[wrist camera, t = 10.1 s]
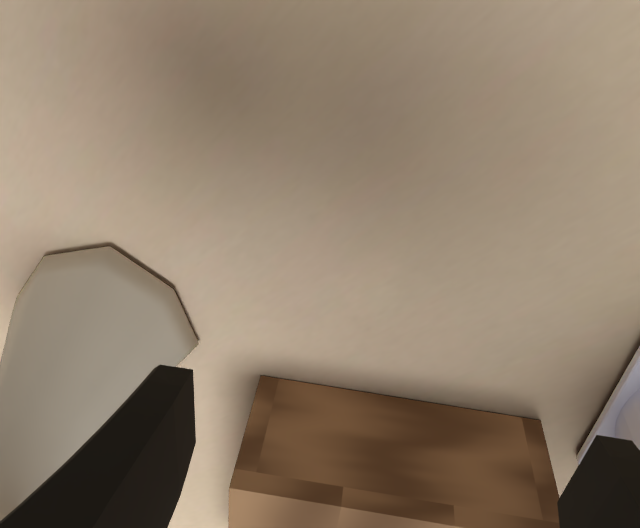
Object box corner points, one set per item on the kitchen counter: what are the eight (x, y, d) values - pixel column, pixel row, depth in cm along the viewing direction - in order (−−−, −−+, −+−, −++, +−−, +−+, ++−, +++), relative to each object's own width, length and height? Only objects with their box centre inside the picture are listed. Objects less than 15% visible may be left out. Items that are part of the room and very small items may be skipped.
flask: (-10, 285, 24) (-224, 503, 16) (113, 213, 21) (-69, 434, 13) (109, 396, 27) (-19, 626, 19) (230, 347, 24) (142, 591, 16)
